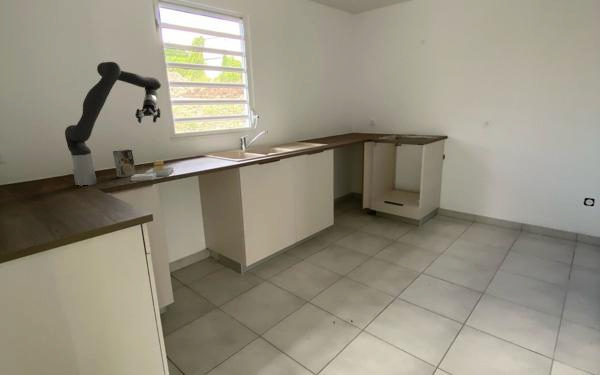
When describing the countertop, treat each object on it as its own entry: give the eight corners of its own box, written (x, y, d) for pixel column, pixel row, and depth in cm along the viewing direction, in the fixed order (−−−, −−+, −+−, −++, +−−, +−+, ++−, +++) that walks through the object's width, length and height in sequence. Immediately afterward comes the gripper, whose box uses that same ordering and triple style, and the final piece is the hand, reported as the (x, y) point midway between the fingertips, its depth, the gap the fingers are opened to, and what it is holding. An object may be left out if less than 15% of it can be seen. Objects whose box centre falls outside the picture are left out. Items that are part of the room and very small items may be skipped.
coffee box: (131, 173, 211) (127, 149, 207) (136, 174, 207) (132, 149, 203) (116, 176, 204) (112, 151, 200) (121, 177, 200) (117, 151, 196)
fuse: (155, 173, 205) (153, 161, 203) (156, 173, 206) (154, 160, 204) (163, 173, 205) (162, 160, 203) (164, 172, 207) (162, 160, 205)
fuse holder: (131, 180, 190) (130, 176, 189) (135, 178, 196) (135, 174, 196) (152, 179, 191) (152, 175, 190) (156, 177, 198) (155, 173, 197)
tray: (146, 177, 199) (145, 172, 198) (152, 172, 211) (152, 168, 211) (168, 175, 200) (167, 171, 200) (173, 171, 213) (173, 167, 212)
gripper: (136, 99, 206) (132, 118, 198) (159, 98, 207) (156, 117, 199) (140, 107, 212) (137, 126, 204) (163, 107, 214) (160, 125, 206)
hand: (146, 122), depth 202 cm, fingers open, 8 cm apart
